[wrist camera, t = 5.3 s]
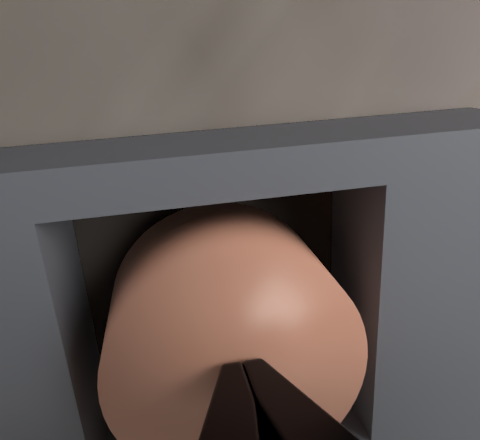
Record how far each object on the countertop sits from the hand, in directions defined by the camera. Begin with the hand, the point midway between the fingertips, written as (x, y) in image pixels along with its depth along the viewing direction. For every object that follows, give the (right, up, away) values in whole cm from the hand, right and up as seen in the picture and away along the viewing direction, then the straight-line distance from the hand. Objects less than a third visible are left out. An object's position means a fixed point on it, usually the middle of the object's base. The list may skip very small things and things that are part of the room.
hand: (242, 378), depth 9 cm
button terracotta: (-1, +1, +3) cm, 3 cm away
